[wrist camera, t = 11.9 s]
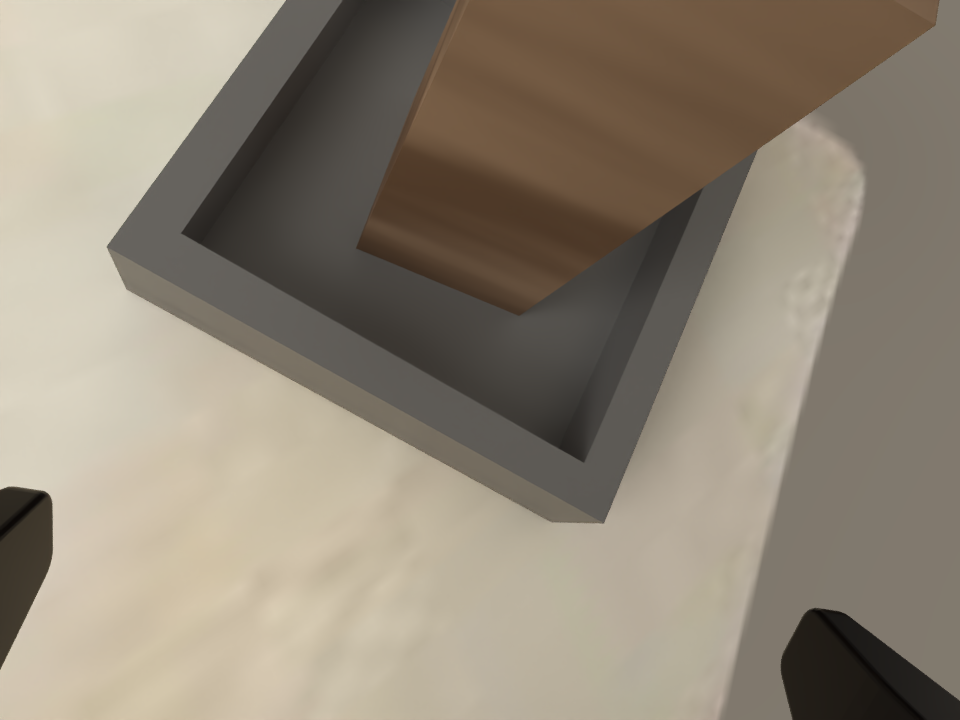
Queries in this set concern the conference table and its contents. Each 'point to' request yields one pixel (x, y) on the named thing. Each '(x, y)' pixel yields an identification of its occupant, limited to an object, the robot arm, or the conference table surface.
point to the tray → (405, 270)
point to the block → (600, 124)
